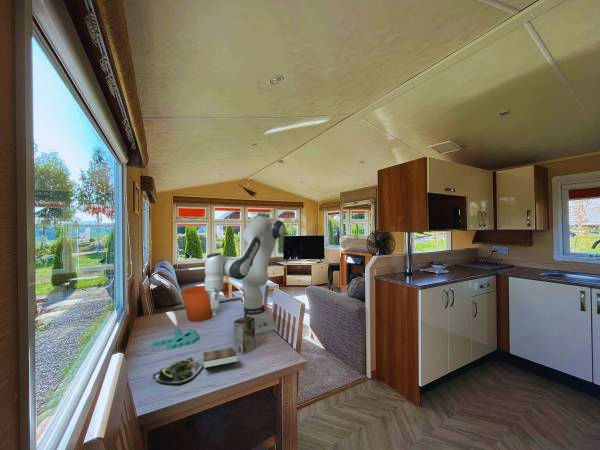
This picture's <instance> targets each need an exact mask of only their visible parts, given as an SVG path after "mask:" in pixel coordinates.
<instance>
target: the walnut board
mask: <svg viewBox="0 0 600 450" xmlns="http://www.w3.org/2000/svg"><path fill="white" fill-rule="evenodd" d="M233 356H236V355H235V352H234V347H229V348H228V347H227V348H222V349H216V350H211V351H205V352H203V363H204V362H206V361H212V360H217V359H222V358H227V357H233Z"/></svg>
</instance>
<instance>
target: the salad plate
mask: <svg viewBox="0 0 600 450" xmlns="http://www.w3.org/2000/svg"><path fill="white" fill-rule="evenodd" d="M193 359H194V358H193V357H189V358H185V359H182V360H179V361H178V360H177V361H176V362H171V363H170V364H169V365H167V366H166V367H162V368H160V370H159V371H157V372H155V373H154V374H152V375H151V377H153V378H155V381H156V383H158V384H160V385H163V386H173V387H175V386H181V385H185V384H187V383H189V382H190V381H192V380H193V379H194V378H195V377H196V375H197V374H199V372H200V371H201V370H202V369H203V364H202V362H200V361H192V360H193ZM192 369H195V370H194V371H192Z"/></svg>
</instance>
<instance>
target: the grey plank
mask: <svg viewBox="0 0 600 450" xmlns="http://www.w3.org/2000/svg"><path fill="white" fill-rule="evenodd" d="M235 362H238V355H235V356H233V357H227V358H222V359H217V360H212V361H206V362H204V361H203V368H204V369H205V368H209V367H214V366H219V365H225V364H231V363H235Z"/></svg>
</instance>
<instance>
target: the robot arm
mask: <svg viewBox="0 0 600 450" xmlns="http://www.w3.org/2000/svg"><path fill="white" fill-rule="evenodd" d="M285 229H286V227H285V223H284V222H283V221H281V220H279V219H275V218H272V217H267V216H263V215H256V216H254V217H253V218H252V220H250V222H249V223H248V224H247V225H246V227H245V228H244V229H243V231H242V233H241V238H242V240H243V242H244V243H245V245H246V246H247V247H246V248H245V250H244V252H243V254H242V256H240V257H239V258H232V257H227V256H225V255H223V254H222V252H213V253H210V254H208V255H207V256H206V257H205V261H204V274H205V278H204V286H205V290H206V291H207V293H208V294H209V298H210V304H211V310H212V312H213V316H212V317H216V316H217V312H218V310H219V309H220V293H221V291H222V290H223V289H224V277H228V278H231V279H235V280H239V281H240V280H241V284H242V288H243V289H242V290H243V294H244V295H243V296H244V298H243V299H244V306H243V317H245V316H248V317H252V318H255V335H258V334H262V333H263V334H264V333H267V332H271V331H276V330H277V329H279V326H278V323H277V322H276V321H275V319H274V316H273V315H272V314H270V313H269V312H268V308H267V306H265V305H264V304H263V291H262V290H261V287H262V286H265V285H266V284H267V283H268V281H269V274H268V268H269V267H268V266H269V262H270V259H271V257H272V254H273V253H274V250H275V246H276V244H277V239H278V238H280V237H282V235H284V232H285Z"/></svg>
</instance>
